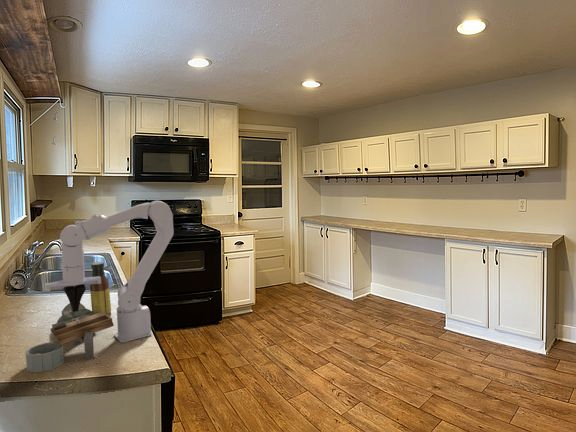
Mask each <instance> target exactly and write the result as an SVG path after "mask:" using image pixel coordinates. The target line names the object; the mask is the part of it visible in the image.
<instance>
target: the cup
mask: <svg viewBox="0 0 576 432" xmlns="http://www.w3.org/2000/svg"><path fill="white" fill-rule="evenodd" d="M25 362H26V363H25V364H26V365H25V367H26V370H27V372H29V371H30V372H29V373H43V372H48V371H52V370H54V369H56V368H58V367H61V366H62V364H63V363H64V347H63V344H61V345H59V344H58V342H57V341H53V342H51V341H50V342H43V343H40V344H36V345H34V346H31V347H29V348H28V349H27V350H26V351H25Z"/></svg>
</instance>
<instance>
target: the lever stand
mask: <svg viewBox="0 0 576 432" xmlns="http://www.w3.org/2000/svg"><path fill="white" fill-rule="evenodd" d="M76 319H78V320H79V319H80V318H74V319H72V321H75V320H76ZM72 343H73V345H77V344H82V343H84V346H83V347H84V360H85V361H86V362H88V361H91V360H95V347H94V333H93V332H92V331H90V332H85V333H84V337H83V342H82V337H81V338H78V339H75V340H72Z"/></svg>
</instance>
